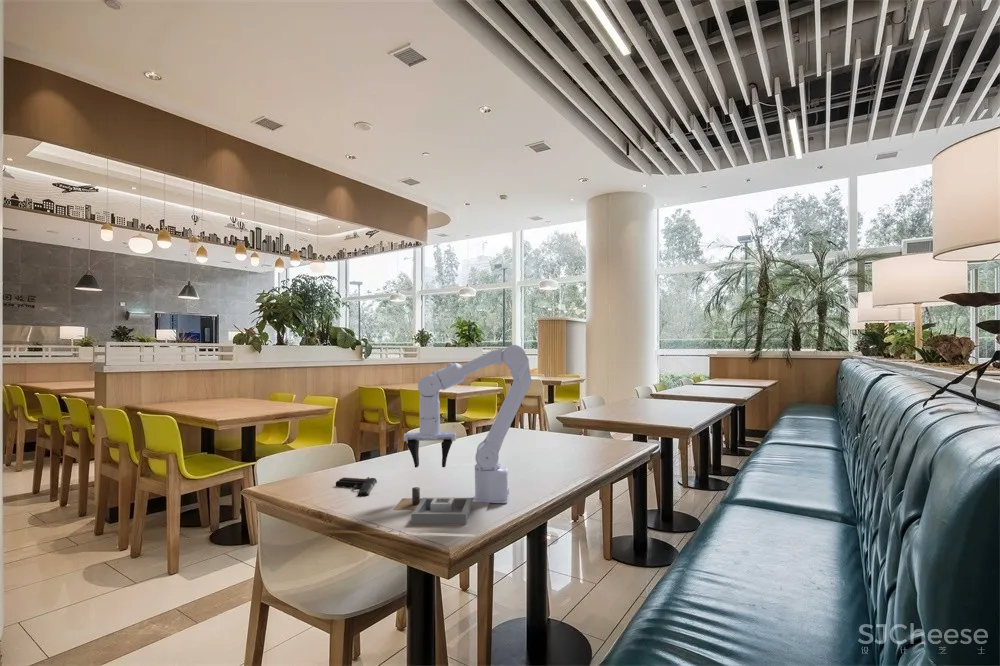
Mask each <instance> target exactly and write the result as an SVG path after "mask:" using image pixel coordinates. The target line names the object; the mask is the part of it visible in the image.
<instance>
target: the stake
mask: <svg viewBox="0 0 1000 666" xmlns="http://www.w3.org/2000/svg"><path fill="white" fill-rule="evenodd" d="M411 489H412V490H411V492H412V493H411V497H410V498H409V497H405V498H401V500H400V501H399V502H398V503H397V504H396V506H394V507H393V509H392V511H414V510H415V509H416V507H417V506H418V504H419V503H420V501H421V500H422V499H423V498H424V497H422V498H421V490H420V486H419V487H417V486H415V487H412V488H411ZM427 510H428V508H427ZM429 510H430V508H429Z"/></svg>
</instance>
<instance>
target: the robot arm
mask: <svg viewBox="0 0 1000 666" xmlns="http://www.w3.org/2000/svg"><path fill="white" fill-rule="evenodd" d="M529 362H530V361H529V358H528V355H527V354H526V351H525V350H524V348H523V347H521V346H519V345H517V344H510V345H508V346H507V347H502V348H498V349H493V350H491V351H489V352H486V353H484V354H483V355H480V356H478V357H477V358H474V359H471V360H470V361H467V362H465V363H464V364H460V363H457V362H454V363H452V362H449V363H446V367H442V368H440V369H439V370H435V369H434V370H432V371H431V374H425V375H424V376H422V377H421V378H420V379H419V381H418V384H417V390H418V392H419V402H418V403H419V407H418V410H419V411H418V412H419V432H405V433H403V442H407V443H406V446H407V448H408V450H409V452H410V454H411V456H412V460H413V461H412V462H413V464H414V468H418V467H419V466H420V459H419V458H420V456H419V452H420V451H419V450H420V448H419V447H420V441H422V442H423V441H426V442H427V441H429V442H430V441H442V442H441V443H440V444H441V455H442V456H441V468H446V466H447V460H448V454H449V452H450V448H451V447H452V445H453V442H455V441H456V440H457V432H443V431H441V402H440V390H441V391H445V390H447V389H449V388H451V387H454V386H456V385H458V384H461V383H463V382H464V381H465V379H466V377H467V375H468V374H471V373H474V372H476V371H478V370H482V369H484V368H487V367H489V366H491V365H494V366H495V365H496V366H497V365H498V366H499V365H500V366H502V365H503V363H504V364H505V365H506V366H507V368H508V370H509V371H510V374H511V376H512V379H513V382H512V384H511V386H510V388H509V390H508V391H507V394H506V396H505V399H504V400H503V402H502V405H501V406H500V409H499V411H498V413H497V415H496V416H495V419H494V421H493V423H492V425H491V427H490V429H489V431H488V433H487V434H486V437H485V438H484V440H483V441H481V442H480V443H479V444H478V445H477V448H476V452H475V458H474V459H475V462H476V464H475V465H474V489H475V490H474V496H473V498H472V503H475V502H476V503H489V504H507V503H508V501H509V500H508V499H509V495H510V488H509V474H508V473H509V471H508V467H505V466H504V467H503V466H501V464H500V463H499V457H500V456H499V454H500V453H499V452H500V451H501V448H502V446H503V443H504V440H505V437H506V436H507V433H508V431H509V429H510V427H511V425H512V423H513V421H514V419H515V417H516V414H517V413H518V410H519V409H520V407H521V404H522V402H523V400H524V398H525V396H526V394H527V392H528V389H529V388H530V386H531V383H532V377H531V376H532V375H531V370H530V363H529Z"/></svg>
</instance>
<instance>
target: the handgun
mask: <svg viewBox="0 0 1000 666" xmlns="http://www.w3.org/2000/svg"><path fill="white" fill-rule="evenodd" d="M377 483H378V482H377V479H376V478H375V477H369V476H368V477H366V478H359V477H357V478H356V477H341V478H339V480H337V481H335V487H339V486H348V487H347V488H353V487H354V490H359V492H358V493H357V497H364V496H365V497H368V496H369V495H370V493H371V491H372V490H373V488H374V486H375V485H376V484H377Z"/></svg>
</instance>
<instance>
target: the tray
mask: <svg viewBox="0 0 1000 666" xmlns="http://www.w3.org/2000/svg"><path fill="white" fill-rule="evenodd" d="M422 498H423V499H422V500H421V501H420V503H419V504H418V506H417V507H416V509H415V510H412V513H411V525H431V526H432V525H435V526H436V525H437V526H438V525H443V526H444V525H447V526H449V525H454V526H457V525H460V526H461V525H463V526H466V525H467V522H468V520H469V517H470V515H471V511H472V510H473V509H472V508H473V502H472V501H473V498H472V497H455V512H431V511H430V510H429V508H430V504H431V502H432V500H433V499H434V497H422ZM427 508H428V510H427Z"/></svg>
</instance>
